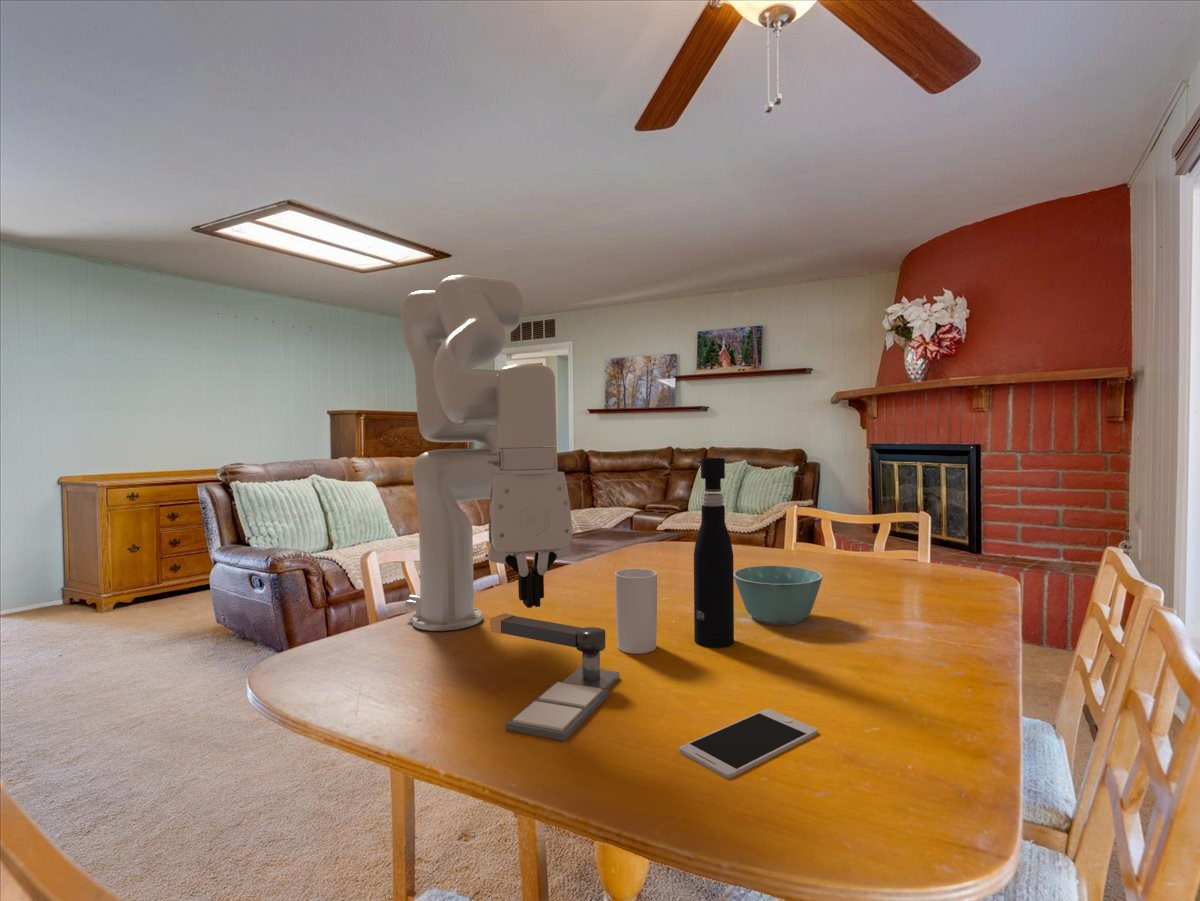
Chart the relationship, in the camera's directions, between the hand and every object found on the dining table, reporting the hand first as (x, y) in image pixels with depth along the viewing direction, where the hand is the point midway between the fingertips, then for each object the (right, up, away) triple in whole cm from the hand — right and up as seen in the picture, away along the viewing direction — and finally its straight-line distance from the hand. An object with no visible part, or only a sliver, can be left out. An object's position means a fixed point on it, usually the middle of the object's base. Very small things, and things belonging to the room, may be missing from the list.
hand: (531, 604), depth 82 cm
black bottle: (+27, -12, +23) cm, 37 cm away
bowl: (+41, -11, +35) cm, 55 cm away
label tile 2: (+5, -12, 0) cm, 13 cm away
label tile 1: (+3, -13, -6) cm, 14 cm away
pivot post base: (+8, -12, +6) cm, 16 cm away
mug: (+14, -12, +22) cm, 28 cm away
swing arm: (+1, -7, +9) cm, 12 cm away
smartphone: (+25, -13, -11) cm, 31 cm away
